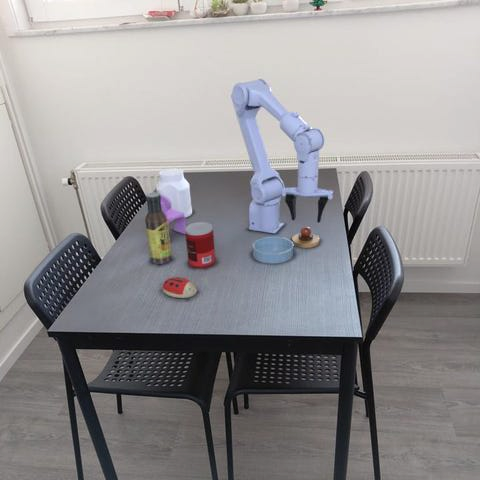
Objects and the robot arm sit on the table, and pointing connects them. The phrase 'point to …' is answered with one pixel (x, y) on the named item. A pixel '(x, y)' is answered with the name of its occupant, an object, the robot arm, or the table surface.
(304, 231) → the ball
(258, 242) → the light blue bowl
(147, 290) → the table surface
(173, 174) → the jar
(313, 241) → the holder
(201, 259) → the canned food
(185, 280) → the ladybug figurine
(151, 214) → the sauce bottle
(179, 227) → the toy chair
